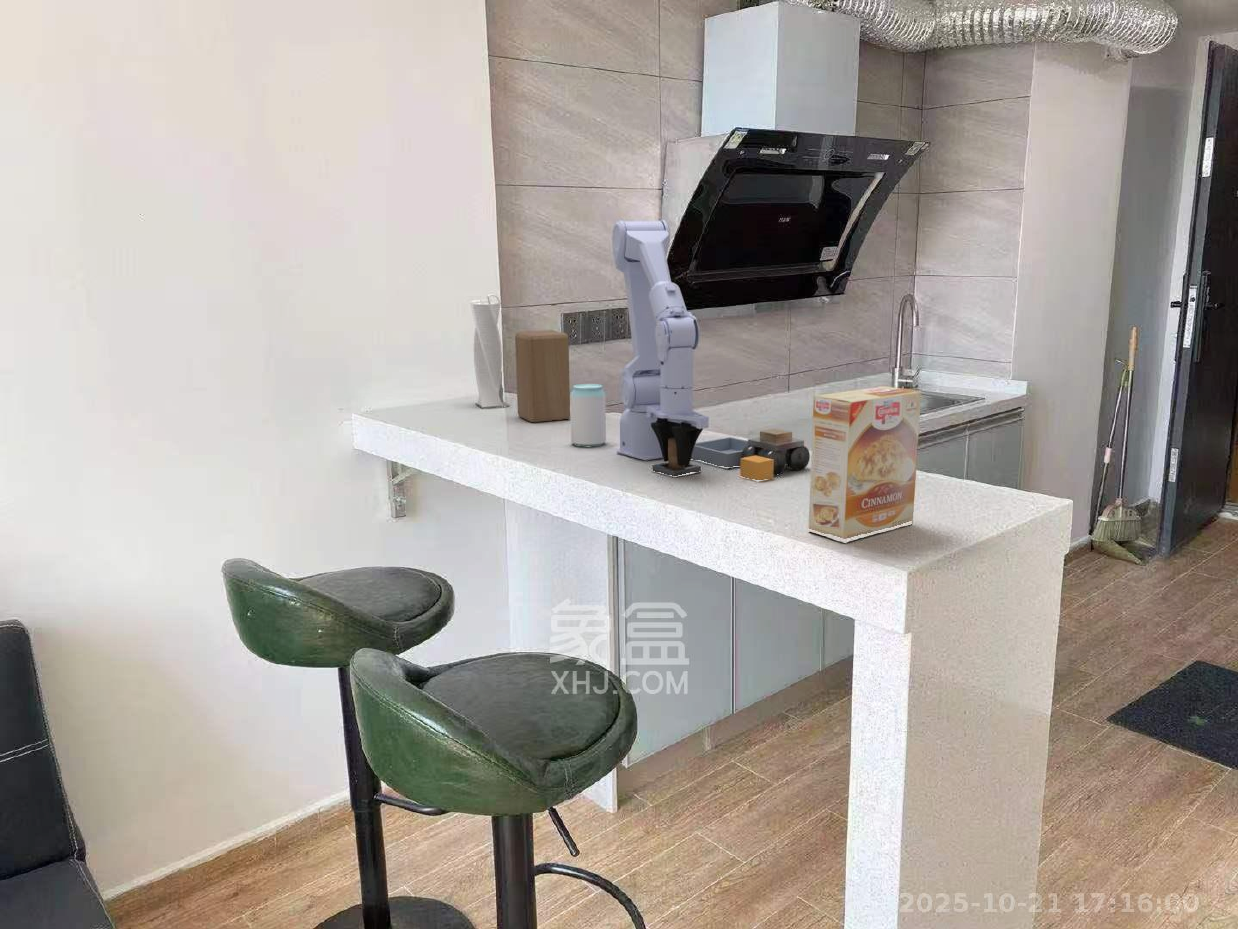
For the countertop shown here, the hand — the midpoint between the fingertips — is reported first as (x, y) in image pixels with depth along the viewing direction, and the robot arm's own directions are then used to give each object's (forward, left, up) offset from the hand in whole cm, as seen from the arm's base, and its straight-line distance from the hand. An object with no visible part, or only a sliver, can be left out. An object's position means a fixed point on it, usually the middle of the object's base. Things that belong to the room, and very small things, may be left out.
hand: (676, 462), depth 172 cm
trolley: (+10, +15, -2) cm, 18 cm away
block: (-61, +11, -2) cm, 62 cm away
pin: (0, 0, -2) cm, 2 cm away
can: (-30, +2, -2) cm, 30 cm away
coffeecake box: (+43, -2, -2) cm, 43 cm away
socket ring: (0, 0, -2) cm, 2 cm away
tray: (-1, +14, -2) cm, 14 cm away
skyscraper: (-84, +10, -2) cm, 85 cm away
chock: (+12, +8, -2) cm, 15 cm away
